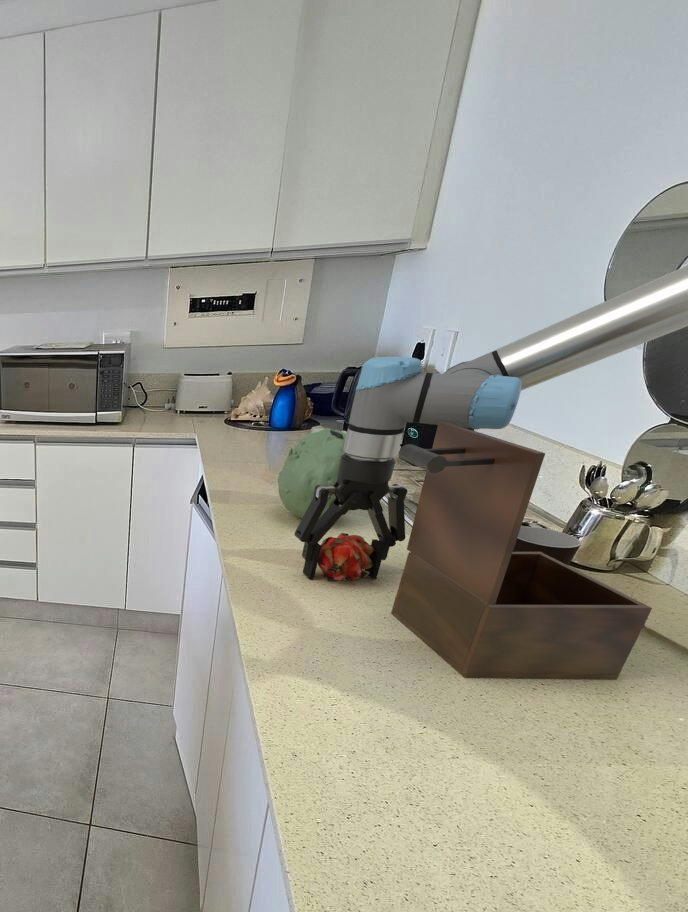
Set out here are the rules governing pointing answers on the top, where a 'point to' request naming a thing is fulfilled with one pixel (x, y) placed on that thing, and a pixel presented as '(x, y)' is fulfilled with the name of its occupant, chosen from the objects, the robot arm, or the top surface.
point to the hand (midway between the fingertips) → (339, 575)
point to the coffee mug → (547, 543)
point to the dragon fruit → (345, 557)
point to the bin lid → (471, 505)
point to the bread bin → (522, 621)
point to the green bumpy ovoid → (311, 468)
